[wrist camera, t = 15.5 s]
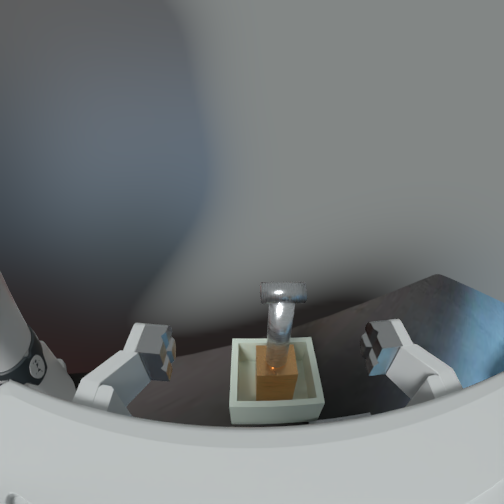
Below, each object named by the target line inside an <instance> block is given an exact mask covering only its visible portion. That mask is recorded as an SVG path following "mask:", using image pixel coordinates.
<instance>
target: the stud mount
mask: <svg viewBox="0 0 504 504" xmlns="http://www.w3.org/2000/svg"><path fill="white" fill-rule="evenodd" d="M370 415H371V414H370V412H369V413H364V414H358V415H352V416H346V417H339V418H332V419H324V420H315V421H309V422H308V424H317V423H326V422H333V421H341V420H347V419H353V418H359V417H365V416H370Z"/></svg>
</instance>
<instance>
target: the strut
mask: <svg viewBox="0 0 504 504" xmlns="http://www.w3.org/2000/svg"><path fill="white" fill-rule="evenodd" d="M260 297H261V304H269V316H268V332H267V333H268V334H267V345H256V368H255V380H256V401H276V400H292V398H293V394H294V390H295V386H296V382H297V378H298V369H297V363H296V356H295V350H294V344H293V345H289V343H290V337H291V330H292V322H293V315H294V308H295V303H305V302H306V299H307V287H306V283H305V282H261V287H260Z"/></svg>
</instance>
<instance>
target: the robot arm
mask: <svg viewBox="0 0 504 504" xmlns="http://www.w3.org/2000/svg"><path fill="white" fill-rule="evenodd" d="M365 331H366V333H365V334H364V335H362V337H361V340H360V352H361V355H362V357H363V358H365V359H366V363H365V367H366V369H367V372H368V375H369V376H373V375H381V374H386V375H387V376H388V377H389V378H390V379H391V380H392V381H393V382H394V383H395V384H396V385H397V386H398V387H399V388H400V389H401V390H402V391H403V392H404V393H405V394H406V395H407V396H408V397H409V398H411V400H410V401H409V403H408V404H407V405H406V407H405V408H401V409H397V410H393V411H389V412H384V413H380V414H375V415H370V416H365V417H359V418H353V419H347V420H341V421H333V422H326V423H317V424H307V425H295V426H278V427H218V426H201V425H189V424H179V423H170V422H163V421H156V420H149V419H143V418H137V417H133V416H132V415H131V414H130V412H129V411H128V409H127V408H126V406H127V405H128V404H129V403H130V402H131V401H132V400H133V399H134V398H135V397H136V396H137V395H138V394H139V393H140V392H141V391H142V389H143V388H144V387H145V386H146V385H147V384H148V383H149V382H150V381H151V380H158V381H170V377H171V373H172V366H171V363H172V362H173V361H174V360H175V355H176V345H175V340H174V339H173V338H172V337H171V335H172V329H171V326H169V325H157V324H145V323H135V324H134V325H133V328H132V330H131V332H130V335H129V337H128V340H127V342H126V345H125V347H124V350H123V351H119V352H117V353H116V354H115V355H113V356H112V357H111V358H109V359H108V360H106V361H105V362H104V363H102V364H101V365H100V366H98V367H97V368H96V369H94V370H93V371H92V372H90V373H89V374H88V375H86V376H85V377H84V378H82V379H81V381H80V384H79V386H78V389H77V391H76V389H75V385H74V382H73V380H72V379H71V377H70V376H69V375H68V373H67V369H66V364H65V362H64V361H63V360H62V359H57V358H56V357H55V356H54V354H53V353H52V352H51V351H50V349H49V348H48V347H47V345H46V344H45V343H44V342H43V341H39V340H38V338H37V336H36V334H35V333H34V331H33V330H32V329H31V327H30V326H29V325H27V324H26V322H25V321H24V319H23V317H22V315H21V313H20V311H19V310H18V308H17V306H16V304H15V302H14V300H13V298H12V296H11V293H10V291H9V289H8V287H7V285H6V283H5V281H4V279H3V276H2V274H1V272H0V504H504V371H503V372H501V373H499V374H497V375H494V376H492V377H490V378H488V379H486V380H483V381H481V382H479V383H476V384H474V385H471V386H469V387H466V388H464V389H463V388H462V386H461V384H460V382H459V380H458V378H457V376H456V374H455V372H454V370H453V369H452V368H451V367H449V366H448V365H446V364H445V363H443V362H442V361H440V360H439V359H438V358H436V357H435V356H433V355H432V354H430V353H429V352H427V351H426V350H424V349H423V348H421V347H420V346H418V345H417V344H413V343H412V341H411V339H410V337H409V335H408V333H407V331H406V330H405V328H404V326H403V324H402V322H401V321H400V320H399V319H392V320H384V321H375V322H368V323H367V324H366V326H365Z"/></svg>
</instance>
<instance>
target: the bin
mask: <svg viewBox="0 0 504 504" xmlns="http://www.w3.org/2000/svg"><path fill="white" fill-rule="evenodd" d="M293 344H294V350H295V356H296V363H297V369H298V378H297V382H296V386H295V390H294V394H293V398H292V400H276V401H256V380H255V368H256V345H267V339H233V340H232V359H231V379H230V401H229V409H230V416H231V423H232V424H279V423H296V422H308V421H315V420H317V419H318V417H319V415H320V413H321V410H322V408H323V406H324V404H325V401H324V396H323V391H322V386H321V381H320V376H319V371H318V367H317V362H316V357H315V353H314V348H313V344H312V339H311V337H301V338H290V343H289V345H293Z"/></svg>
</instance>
